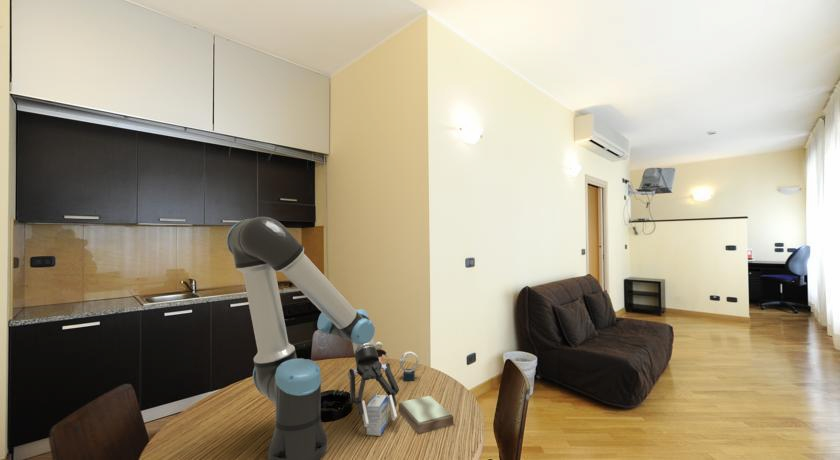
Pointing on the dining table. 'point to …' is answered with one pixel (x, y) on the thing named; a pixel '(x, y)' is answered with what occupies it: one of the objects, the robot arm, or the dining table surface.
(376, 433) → the medicine box
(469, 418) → the dining table surface
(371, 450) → the dining table surface
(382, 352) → the grandmother figurine
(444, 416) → the platform
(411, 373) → the watch
